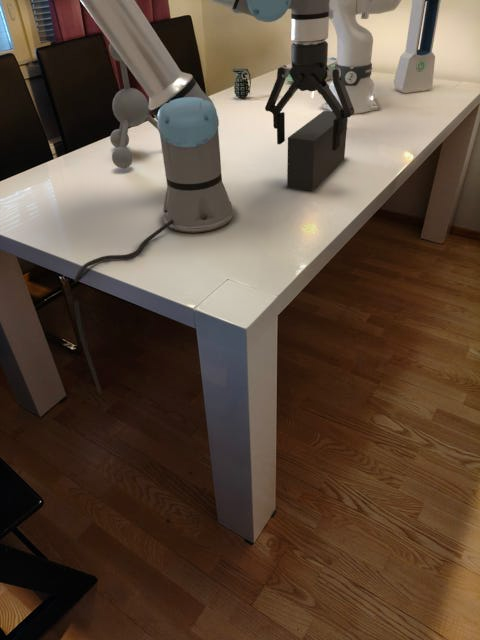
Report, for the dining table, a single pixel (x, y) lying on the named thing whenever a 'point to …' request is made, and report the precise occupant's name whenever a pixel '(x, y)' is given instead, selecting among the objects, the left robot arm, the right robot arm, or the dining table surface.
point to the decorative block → (330, 65)
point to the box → (314, 152)
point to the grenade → (242, 83)
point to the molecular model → (127, 115)
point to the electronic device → (419, 63)
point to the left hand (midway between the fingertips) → (307, 145)
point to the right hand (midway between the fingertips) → (346, 18)
